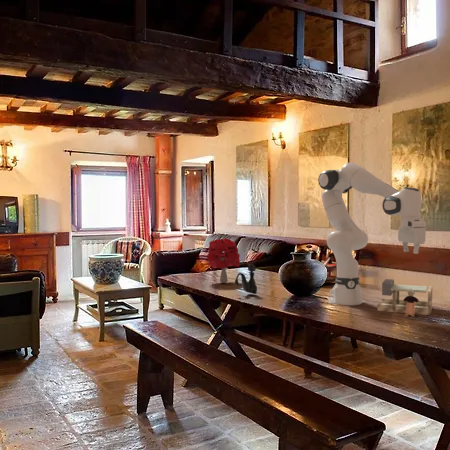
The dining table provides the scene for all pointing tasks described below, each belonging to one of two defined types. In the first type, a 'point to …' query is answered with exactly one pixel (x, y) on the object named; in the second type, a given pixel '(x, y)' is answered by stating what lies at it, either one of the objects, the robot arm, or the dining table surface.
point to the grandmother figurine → (410, 303)
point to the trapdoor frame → (397, 305)
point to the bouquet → (223, 256)
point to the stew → (329, 270)
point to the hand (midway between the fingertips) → (410, 252)
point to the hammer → (399, 287)
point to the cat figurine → (250, 285)
